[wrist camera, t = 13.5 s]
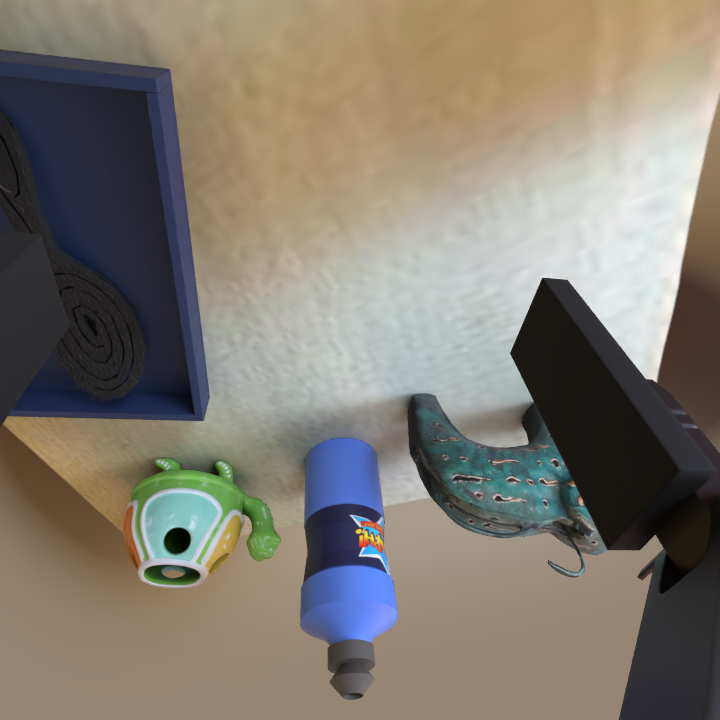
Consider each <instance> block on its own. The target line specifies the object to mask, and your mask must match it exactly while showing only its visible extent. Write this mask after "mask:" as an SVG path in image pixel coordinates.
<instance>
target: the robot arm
mask: <svg viewBox="0 0 720 720" xmlns="http://www.w3.org/2000/svg"><path fill="white" fill-rule="evenodd" d="M68 327H69V323H68V320H67V317H66V313H65V310H64V307H63V304H62V301H61V297H60V294H59V291H58V288H57V285H56V281H55V278H54V275H53V272H52V269H51V266H50V262H49V259H48V256H47V253H46V250H45V246H44V243H43V240H42V237H41V234H30V233H19V232H5V233H4V234H3V235H2V236H1V237H0V426H1V425H2V424H3V422H4V421H5V419H6V418H7V416H8V415H9V413H10V412H11V411H12V409H13V408H14V406H15V405H16V403H17V402H18V400H19V399H20V397H21V396H22V394H23V393H24V391H25V390H26V389H27V387H28V386H29V384H30V383H31V381H32V380H33V378H34V377H35V375H36V374H37V372H38V371H39V369H40V368H41V367H42V365H43V364H44V362H45V361H46V359H47V358H48V356H49V355H50V353H51V352H52V350H53V349H54V347H55V346H56V345H57V343H58V342H59V340H60V339H61V337H62V336H63V334H64V333H65V331H66V330H67V328H68ZM510 354H511V356H512V358H513V360H514V362H515V364H516V366H517V368H518V370H519V372H520V374H521V376H522V378H523V380H524V382H525V384H526V386H527V388H528V390H529V392H530V394H531V396H532V399H533V401H534V403H535V405H536V407H537V409H538V411H539V413H540V415H541V417H542V419H543V421H544V423H545V425H546V427H547V429H548V431H549V433H550V435H551V437H552V439H553V441H554V443H555V445H556V447H557V449H558V451H559V453H560V455H561V457H562V459H563V461H564V463H565V465H566V467H567V469H568V472H569V474H570V476H571V478H572V480H573V482H574V484H575V486H576V488H577V490H578V492H579V494H580V496H581V498H582V500H583V502H584V504H585V506H586V508H587V510H588V512H589V514H590V516H591V518H592V520H593V522H594V524H595V526H596V528H597V530H598V532H599V534H600V536H601V538H602V540H603V542H604V544H605V547H606V549H607V550H640V549H642V547H644V545H646V543H647V542H648V541H649V540H650V539H651V538H652V537H653V536H654V535H655V534H656V536H657V538H658V539H659V541H660V543H661V544H662V546H663V548H664V549H663V550H662V551H661V552H660V553H659V554H658V555H657V556H656V557H655V558H654V559H653V560H652V561H651V562H650V563H649V564H647V565H646V567H644V568H643V569H642V570H641V572H640V573H639V575H638V578H639V579H641V580H643V579H644V578H645V577H647V576H648V575H649V574H650V573H652V577H651V582H650V586H649V590H648V595H647V599H646V604H645V608H644V612H643V616H642V621H641V625H640V630H639V634H638V638H637V643H636V647H635V651H634V656H633V660H632V665H631V669H630V673H629V678H628V682H627V686H626V691H625V695H624V699H623V704H622V708H621V713H620V717H619V720H720V453H719V452H718V451H717V449H716V448H715V447H714V446H713V445H712V443H711V442H710V441H709V440H708V439H707V437H706V436H705V435H704V434H703V432H702V431H701V430H700V429H697V428H696V426H697V425H696V424H695V423H694V421H693V420H692V419H691V418H690V416H689V415H685V410H684V409H683V408H682V407H681V406H680V404H679V403H678V402H677V401H676V399H675V398H674V397H673V396H672V395H671V394H670V393H669V392H667V391H666V390H665V389H664V388H662V387H661V386H660V385H658V384H657V383H656V382H654V381H653V380H649V379H645V378H644V376H643V375H642V374H641V373H640V371H639V370H638V369H637V367H636V366H635V365H634V364H633V362H632V361H631V360H630V359H629V357H628V356H627V355H626V353H625V352H624V351H623V350H622V348H621V347H620V346H619V345H618V343H617V342H616V341H615V339H614V338H613V337H612V336H611V334H610V333H609V332H608V331H607V329H606V328H605V327H604V326H603V324H602V323H601V322H600V320H599V319H598V318H597V317H596V315H595V314H594V313H593V312H592V310H591V309H590V308H589V306H588V305H587V304H586V303H585V301H584V300H583V299H582V298H581V296H580V295H579V294H578V293H577V291H576V290H575V289H574V287H573V286H572V285H571V284H570V282H569V281H568V280H563V279H551V278H542V280H541V282H540V285H539V287H538V289H537V292H536V294H535V296H534V299H533V301H532V303H531V306H530V308H529V310H528V313H527V315H526V317H525V320H524V322H523V324H522V327H521V329H520V331H519V334H518V336H517V338H516V341H515V343H514V345H513V348H512V350H511V352H510Z"/></svg>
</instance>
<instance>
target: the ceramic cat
mask: <svg viewBox="0 0 720 720" xmlns="http://www.w3.org/2000/svg"><path fill="white" fill-rule="evenodd" d="M522 425H523V427H524V429H525V431H526V433H527V436H528V441H529V443H528V445H524V446H517V447H510V448H495V447H489V446H485V445H481V444H479V443H476V442H473V441H471V440H468V439H467V438H465V437H464V436H463V435H462V434H460V432H459V431H458V430H457V429H456V428H455V427H454V426H453V425H452V424H451V422H450V420H449V419H448V417H447V416H446V414H445V413H444V411H443V410H442V408H441V406H440V404H439V402H438V400H437V399H436V396H434V395H431V394H417V395H414V396H413V398H412V400H411V404H410V407H409V409H408V435H409V449H410V455H411V457H412V459H413V460H414V462H415V464H416V466H417V469H418V472H419V475H420V478H421V480H422V482H423V484H424V486H425V487H426V489H427V491H428V493H429V495H430V496H431V497H432V499H433V500H434V501H435V502H436V503H437V504H438V505H439V506H440V507H441V508H442V509H443V510H444V511H445V513H446V514H447V515H448V516H449V517H450V518H451V519H452V520H453V521H454V522H455V523H457V524H458V525H460V526H461V527H463V528H465V529H467V530H470V531H472V532H475V533H478V534H482V535H486V536H491V537H498V538H511V537H517V536H531V535H536V534H540V533H546V532H547V533H551V534H552V535H554V536H555V537H557V539H559V540H560V541H562V542H563V543H565V544H566V545H568V546H570V547H571V548H573V549H575V550H576V551H577V553H578V555H579V556H580V560H581V564H582V566H581V569H580V571H579V572H571V571H568V570H565V569H564V568H562V567H560V566H558V565H556V564H554V563H552V562H551V561H549V560H548V564H549V565H550V566H551V567H552V568H553V569H555V570H556V571H557V572H559V573H561V574H563V575H565V576H568V577H578V576H580V575H582V574H583V573H584V571H585V564H584V561H583V558H582V555H581V553H580V552H582V553H585V554H592V555H598V554H601V553H604V552H605V551H607V549H606V547H605V544H604V542H603V540H602V538H601V536H600V534H599V532H598V530H597V528H596V526H595V524H594V522H593V520H592V518H591V516H590V514H589V512H588V510H587V508H586V506H585V504H584V502H583V500H582V498H581V496H580V494H579V492H578V490H577V488H576V486H575V484H574V482H573V480H572V478H571V476H570V474H569V472H568V469H567V467H566V465H565V463H564V461H563V459H562V457H561V455H560V453H559V451H558V449H557V447H556V445H555V443H554V441H553V439H552V437H551V435H550V433H549V431H548V429H547V427H546V425H545V423H544V421H543V419H542V417H541V415H540V413H539V411H538V409H537V407H536V405H535V403H534V404H533V405H532V406H531V407H530V408H529V409H528V411H527V413H526V415H525V418H524V419H523V420H522Z"/></svg>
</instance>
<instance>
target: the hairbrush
mask: <svg viewBox="0 0 720 720" xmlns="http://www.w3.org/2000/svg"><path fill="white" fill-rule="evenodd" d="M0 207H1V208H2V210H3V211H4V213H5V214H6V216H7V218H8V220H9V221H10V223H11V225H12V226H13V228H14V230H15V231H16V232H19V233H30V234H41V237H42V240H43V243H44V246H45V250H46V253H47V256H48V259H49V262H50V266H51V269H52V272H53V274H54V273H56V272H59V273H57V274H56V275H55V276H54V278H55V281H56V285H57V288H58V291H59V294H60V297H61V301H62V304H63V307H64V310H65V313H66V317H67V320H68V323H69V327H68V328H67V330H66V331H65V333H64V334H63V336H62V337H61V339H60V340H59V342H58V343H57V345H56V346H55V347H54V349H53V350H54V351H55V353H56V355H57V357H58V359H59V360H60V362H61V363H62V365H63V366H64V368H65V369H66V370H67V372H68V373H69V375H70V376H71V377H72V379H73V380H74V382H75V383H76V385H77V386H79V387H80V388H82V389H84V390H86V391H88V392H90V393H91V394H93V395H95V396H97V397H99V398H100V399H101V402H102V400H106V399H113V398H117V400H118V398H119V397H121V399H122V397H125V395H126V394H127V393H128V392H129V391H130V390H131V389H132V388H134V386H135V385H136V384H137V383H138V382H139V380H140V378H141V376H142V375H143V368H144V363H145V354H146V347H147V343H146V340H145V337H144V334H143V331H142V328H141V325H140V322H139V320H138V317H137V314H136V311H135V308H134V306H133V305H132V303H131V302H130V301H129V300H128V299H127V298H126V297H125V296H124V295H123V294H122V292H121V291H120V290H119V289H118V288H117V287H116V286H115V285H114V284H113V283H112V282H111V281H110V280H108V279H106V278H105V277H103V276H102V275H100V274H99V273H97V272H95V271H94V270H92V269H91V268H89V267H87V266H86V265H84V264H83V263H81V262H79V261H78V260H76V259H75V258H73V257H71V256H70V255H68V254H66V253H65V252H63V251H62V250H60V249H58V248H57V246H56V243H55V241H54V239H53V236H52V234H51V232H50V229H49V227H48V224H47V222H46V220H45V217H44V215H43V213H42V210H41V208H40V205H39V200H38V195H37V190H36V185H35V180H34V175H33V170H32V165H31V160H30V158H29V156H28V154H27V151H26V149H25V147H24V145H23V143H22V141H21V138H20V136H19V134H18V132H17V130H16V128H15V125H14V123H13V121H12V120H11V119H10V118H9V117H8V116H7V115H6V114H5V113H4V112H3V111H1V110H0ZM65 287H66V288H65ZM64 288H65V289H64ZM63 289H64V290H63ZM61 292H62V295H61ZM76 306H77V308H76ZM88 317H89V318H91V319H92V320H93V321H95V329H96V326H97V330H98V331H96V330H95V329H94V328H93V327H94V325H93V326H92V325H91V323H90V322H89V320H88ZM112 351H113V355H112V356H111V357H110V358H109V356H110V354H111V353H112ZM108 358H109V359H108ZM123 359H124V364H123V366H122V368H121V370H120V371H119V372H118V373H117V374H116V375H114V374H115V373H116V372H117V371H118V370H119V369H120V367H121V365H122V362H123ZM134 359H135V364H134V366H133V362H134ZM132 366H133V369H132V371H131V373H130V375H129V376H128V377H127V379H126V380H125V381H124V382H122V381H123V379H124V378H125V377H126V376H127V374H128V373H129V372H130V370H131V368H132ZM121 382H122V383H121ZM79 387H78V388H77V389H79ZM85 394H86V392H85ZM90 399H92V400H93V398H92V396H91V398H90ZM107 402H108V400H107ZM109 402H110V400H109Z"/></svg>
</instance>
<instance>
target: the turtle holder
mask: <svg viewBox="0 0 720 720" xmlns="http://www.w3.org/2000/svg"><path fill="white" fill-rule="evenodd" d="M155 464H156V465H157V466H158V467H159V468H160V469H162V470H163V472H161V473H157V474H154V475H152V476H149V477H147V478H145V479H143V480H141V481H140V482H139V483H138V484H137V485H136V486H135V488H134V490H133V492H132V495H131V501H130V503H129V504H128V505H127V507H126V509H125V521H124V540H125V546H126V550H127V552H128V555H129V558H130V559H131V561H132V563H133V565H134V567H135V568H136V569H137V571H138V575H139V578H140V579H141V581H143V582H144V583H147V584H149V585H153V586H159V587H168V588H187V587H195V586H197V585H200V584H201V583H202V582H203V581H204V580H205V579H206V578H207V577H208V576H209V575H210V574H212V573H213V572H215V571H216V570H217V569H218V568H219V567H220V566H221V565H222V564H223V563H224V562H225V561H226V560H227V559H228V557H229V556H230V554H231V553H232V551H233V549H234V548H235V545H236V543H237V541H238V538H239V535H240V532H241V530H242V528H243V526H244V518H243V514H244V515H246V516H248V517H249V518H250V520H251V522H252V532H251V534H250V536H249V538H248V540H247V546H248V549H249V552H250V555H251V556H252V557H253V558H254V559H255V560H256V561H262V560H264V559H269V558H271V557H272V556H273V555H274V553H275V552H276V549H277V546H278V544H279V543H280V541H281V539H280V536H279V535H278V534H277V533H276V531H275V530H274V526H273V518H272V516H271V513H270V509H269V508H268V507H267V504H265V503H263V501H262V500H260V499H258V498H254V497H251V496H248V495H246V494H245V493H244V492H243V491H242V490H241V489H239V488H238V487H237V486H236V485H235V484H233V470H232V468H231V466H230V465H229V464H228V463H226V462H223V461H216V463H215V467H216V470H217V471H218V474H219V476H216V475H214V474H210V473H206V472H201V471H195V470H181V467H180V465H179V463H178V462H176V461H175V460H172V459H169V458H158V459H156V460H155ZM170 570H175V571H180V572H182V573H184V575H183V576H181V577H178V578H168V577H165V576H164V575H163V574H162V573H163V572H166V571H170Z"/></svg>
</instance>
